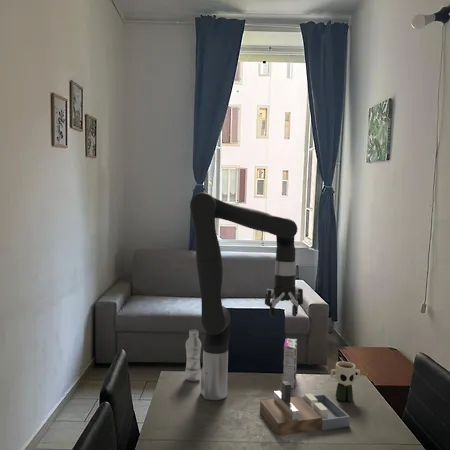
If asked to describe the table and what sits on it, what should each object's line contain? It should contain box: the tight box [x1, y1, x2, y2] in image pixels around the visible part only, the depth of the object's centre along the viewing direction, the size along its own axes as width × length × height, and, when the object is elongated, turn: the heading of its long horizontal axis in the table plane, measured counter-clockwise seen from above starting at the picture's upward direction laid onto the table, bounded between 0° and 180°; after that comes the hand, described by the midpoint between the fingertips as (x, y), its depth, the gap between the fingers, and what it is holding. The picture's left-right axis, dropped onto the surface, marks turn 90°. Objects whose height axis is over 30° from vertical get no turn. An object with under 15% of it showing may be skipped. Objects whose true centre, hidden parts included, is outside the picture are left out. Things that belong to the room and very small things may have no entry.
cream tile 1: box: [303, 393, 318, 409], centre depth 157 cm, size 5×5×2 cm
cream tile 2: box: [314, 402, 328, 419], centre depth 151 cm, size 5×5×2 cm
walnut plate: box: [259, 395, 322, 436], centre depth 151 cm, size 15×16×4 cm
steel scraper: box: [273, 380, 298, 421], centre depth 151 cm, size 2×15×9 cm, turn 17°
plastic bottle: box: [184, 329, 202, 382], centre depth 181 cm, size 6×7×20 cm
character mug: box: [330, 361, 361, 402], centre depth 168 cm, size 11×7×13 cm, turn 92°
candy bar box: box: [282, 337, 298, 390], centre depth 181 cm, size 11×5×16 cm, turn 168°
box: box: [300, 393, 351, 432], centre depth 155 cm, size 10×17×4 cm, turn 16°
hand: (283, 316), depth 168 cm, fingers open, 8 cm apart
